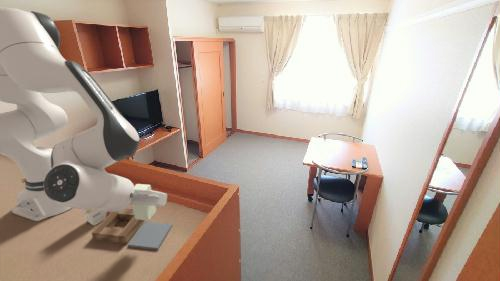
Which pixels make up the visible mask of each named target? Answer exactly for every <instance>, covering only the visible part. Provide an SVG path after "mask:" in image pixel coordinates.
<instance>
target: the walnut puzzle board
mask: <svg viewBox="0 0 500 281" xmlns="http://www.w3.org/2000/svg"><path fill="white" fill-rule="evenodd" d="M120 221H127V222H128V223H127V224H126V225H125V226H124V227H123V228H116V227H115V226H116V225H117V224H118V223H119V222H120ZM145 221H146V220H139V219H135V215H134V212H133V208H125V209H124V210H122V211H119V212H111V213H110V214H109V215H108V216H107V217H106V218H105V219H104V220H103V221H101V222H100V223H99V225H98V226H96V227H95V229H93V230H92V231H91V236H92V238H93V240H96V241H103V242H104V241H105V242H112V243H118V244H119V243H120V244H121V243H122V244H129V243H130V241H131V240H132V239H133V237H134V236H135V235H136V233H137V232H138V231H139V229H140V228H141V227H142V225H143V224H144V223H145ZM114 227H115V228H114Z"/></svg>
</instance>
